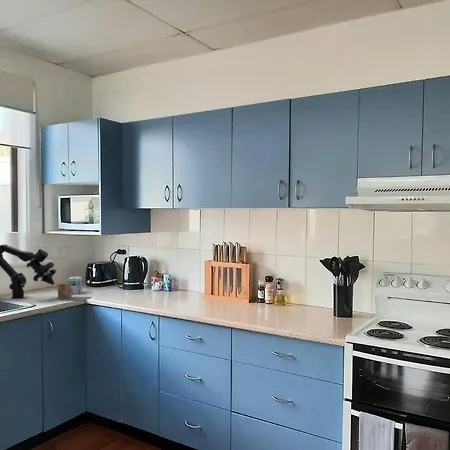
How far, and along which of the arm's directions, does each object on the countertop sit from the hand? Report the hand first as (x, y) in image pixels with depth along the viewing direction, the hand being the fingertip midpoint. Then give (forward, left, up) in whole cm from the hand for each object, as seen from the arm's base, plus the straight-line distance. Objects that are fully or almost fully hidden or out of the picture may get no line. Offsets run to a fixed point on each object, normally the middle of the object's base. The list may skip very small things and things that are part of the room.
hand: (53, 284), depth 295 cm
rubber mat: (+13, -12, -9) cm, 19 cm away
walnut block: (+6, -5, -9) cm, 12 cm away
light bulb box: (+17, +13, -9) cm, 23 cm away
